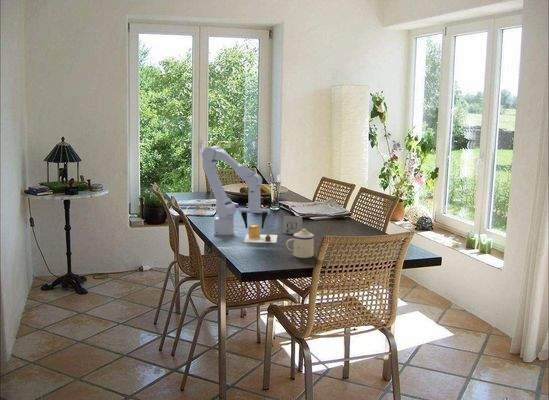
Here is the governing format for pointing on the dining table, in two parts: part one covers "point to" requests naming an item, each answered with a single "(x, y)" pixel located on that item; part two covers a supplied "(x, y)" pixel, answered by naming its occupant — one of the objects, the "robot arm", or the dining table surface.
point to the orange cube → (254, 231)
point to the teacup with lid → (302, 244)
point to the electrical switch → (292, 224)
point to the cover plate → (262, 239)
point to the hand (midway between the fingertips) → (254, 228)
